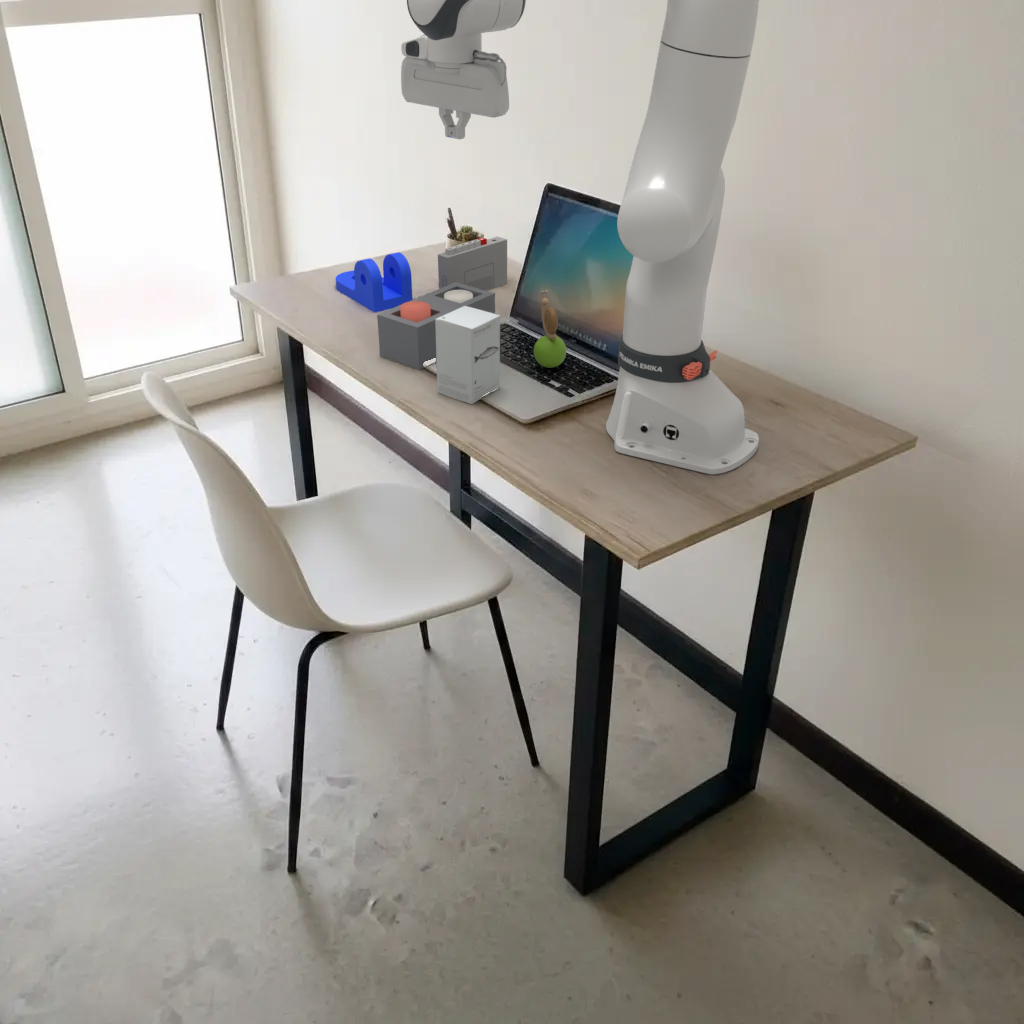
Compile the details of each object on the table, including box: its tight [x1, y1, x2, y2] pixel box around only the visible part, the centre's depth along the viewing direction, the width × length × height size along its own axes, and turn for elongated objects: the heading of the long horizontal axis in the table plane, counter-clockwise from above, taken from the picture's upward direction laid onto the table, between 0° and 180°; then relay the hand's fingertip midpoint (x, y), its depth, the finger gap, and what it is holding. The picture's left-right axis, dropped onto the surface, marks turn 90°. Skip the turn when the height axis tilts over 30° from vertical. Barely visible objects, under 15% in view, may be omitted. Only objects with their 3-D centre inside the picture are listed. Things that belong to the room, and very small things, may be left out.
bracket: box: [335, 252, 413, 313], centre depth 202 cm, size 18×8×9 cm, turn 36°
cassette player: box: [437, 235, 508, 291], centre depth 203 cm, size 16×3×10 cm, turn 135°
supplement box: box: [435, 306, 501, 405], centre depth 164 cm, size 7×7×13 cm
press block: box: [376, 282, 496, 371], centre depth 181 cm, size 9×20×8 cm, turn 142°
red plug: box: [400, 301, 431, 322], centre depth 176 cm, size 5×5×6 cm
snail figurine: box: [533, 289, 567, 369], centre depth 173 cm, size 5×6×12 cm
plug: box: [444, 290, 473, 303], centre depth 184 cm, size 5×5×6 cm
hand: (455, 137), depth 174 cm, fingers closed
